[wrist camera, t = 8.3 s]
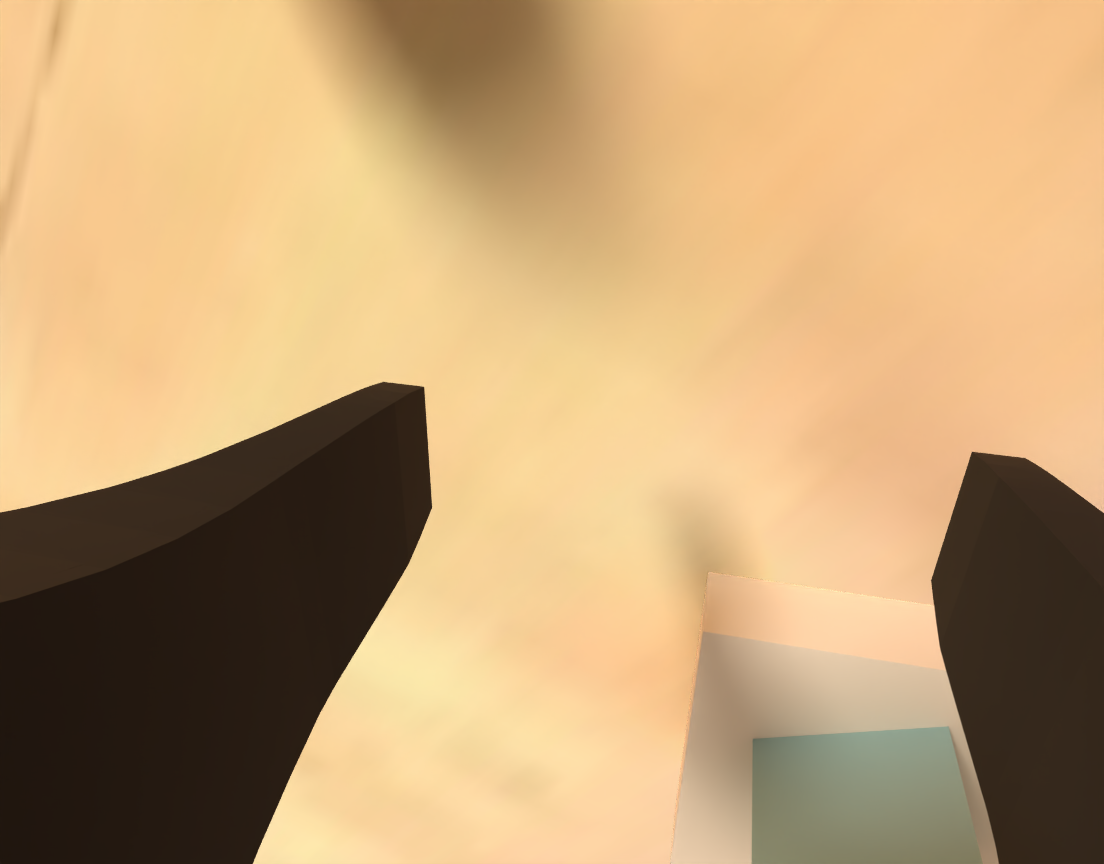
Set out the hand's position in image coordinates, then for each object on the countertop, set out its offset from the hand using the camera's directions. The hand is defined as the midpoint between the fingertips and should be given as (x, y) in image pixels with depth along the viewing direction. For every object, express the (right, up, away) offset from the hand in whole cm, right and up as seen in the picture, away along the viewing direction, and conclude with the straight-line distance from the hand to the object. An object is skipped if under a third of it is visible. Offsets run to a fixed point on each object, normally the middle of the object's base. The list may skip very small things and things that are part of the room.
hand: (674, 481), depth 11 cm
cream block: (+8, -8, +14) cm, 18 cm away
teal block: (+7, -9, +12) cm, 17 cm away
